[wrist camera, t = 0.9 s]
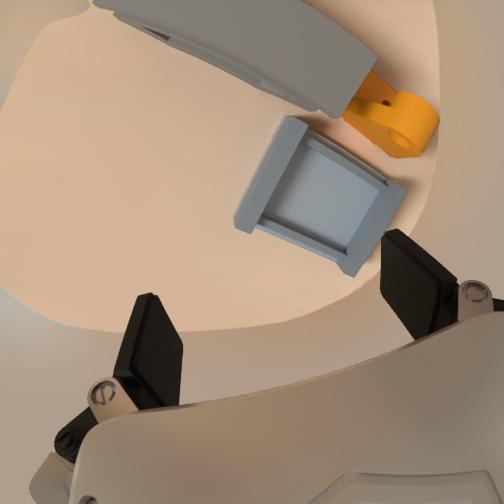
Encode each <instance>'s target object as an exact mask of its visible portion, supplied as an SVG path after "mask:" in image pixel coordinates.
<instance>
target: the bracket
mask: <svg viewBox="0 0 504 504" xmlns="http://www.w3.org/2000/svg"><path fill="white" fill-rule="evenodd" d="M341 116H342V117H343V118H344V120H345V121H346V122H347V123H349V124H350V125H351V126H352V127H354V128H355V129H356V130H358V131H359V132H360V133H361V134H362V135H364V136H365V137H366V138H367V139H369V140H370V141H371V142H372V143H373V144H375V145H378V146H379V147H380V148H381V149H382V150H383V151H385V152H386V153H387V154H388V155H389V156H391V157H394V158H397V159H399V158H408V157H419V156H421V155H422V153H423V151H424V149H425V148H426V146H427V144H428V142H429V141H430V139H431V137H432V135H433V133H434V132H435V130H436V128H437V126H438V124H439V122H440V117H439V115H438V113H437V112H436V111H435V109H434V108H433V107H432V106H431V105H430V104H429V103H427V102H426V101H425V100H423V99H422V98H420V97H418V96H417V95H415V94H412V93H409V92H406V91H400V92H398V93H396V92H395V91H394V90H393V89H392V88H391V87H390V86H389V85H388V84H386V83H385V82H384V81H383V80H382V79H381V78H380V77H379V76H377V75H376V74H375V73H374V72H373V71H372V70H370V71H369V73H368V74H367V76H366V77H365V79H364V80H363V82H362V84H361V85H360V87H359V88H358V90H357V91H356V93H355V94H354V96H353V98H352V99H351V101H350V102H349V104H348V105H347V107H346V108H345V110H344V111H343V113H342V115H341Z"/></svg>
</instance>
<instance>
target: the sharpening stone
mask: <svg viewBox="0 0 504 504" xmlns="http://www.w3.org/2000/svg"><path fill="white" fill-rule="evenodd" d="M92 3H93V4H94V5H96V6H97V7H98V8H103V9H107V10H111V11H115V12H114V14H113V15H114V16H115V17H116V18H117V19H118V20H120V21H122V22H124V23H126V24H128V25H130V26H132V27H135V28H137V29H139V30H141V31H143V32H145V33H147V34H149V35H150V36H152V37H154V38H156V39H158V40H160V41H162V42H164V43H165V44H167V45H169V46H171V47H173V48H176V49H178V50H180V51H183V52H185V53H187V54H190V55H192V56H194V57H196V58H199V59H201V60H203V61H205V62H207V63H209V64H211V65H213V66H216V67H218V68H220V69H222V70H224V71H226V72H227V73H229V74H231V75H233V76H235V77H237V78H239V79H241V80H243V81H245V82H246V83H248V84H250V85H252V86H254V87H255V88H258V89H260V90H263V91H265V92H267V93H270V94H272V95H275V96H277V97H279V98H281V99H284V100H286V101H288V102H290V103H292V104H295V105H297V106H299V107H301V108H303V109H305V110H307V111H309V112H311V111H317V109H318V108H319V109H320V110H321V111H323V112H324V113H326V114H327V115H328V116H330V117H331V118H336V119H339V118H340V116H341V115H342V113H343V111H344V110H345V108H346V107H347V105H348V104H349V102H350V101H351V99H352V98H353V96H354V94H355V93H356V91H357V90H358V88H359V87H360V85H361V84H362V82H363V80H364V79H365V77H366V76H367V74H368V73H369V71H370V70H371V68H372V67H373V65H374V63H375V62H376V60H377V59H378V57H379V56H378V55H376V54H375V53H374V52H373V51H372V50H370V49H369V48H368V47H367V46H366V45H364V44H363V43H362V42H361V41H359V40H358V39H357V38H356V37H354V36H353V35H352V34H350V33H349V32H348V31H346V30H345V29H344V28H342V27H341V26H339V25H338V24H337V23H335V22H334V21H332V20H331V19H329V18H328V17H326V16H325V15H323V14H322V13H320V12H319V11H317V10H316V9H314V8H312V7H311V6H309V5H308V4H306V3H304V2H302V1H301V0H94V1H93V2H92Z"/></svg>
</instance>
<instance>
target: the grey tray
mask: <svg viewBox="0 0 504 504" xmlns="http://www.w3.org/2000/svg"><path fill="white" fill-rule="evenodd" d="M308 126H309V125H308V124H306V123H304V122H302V121H301V120H299V119H297V118H295V117H293V116H284V117H283V119H282V121H281V123H280V125H279V127H278V128H277V130H276V132H275V134H274V136H273V138H272V140H271V142H270V144H269V146H268V148H267V149H266V151H265V153H264V155H263V157H262V159H261V161H260V163H259V165H258V167H257V169H256V171H255V173H254V175H253V177H252V179H251V181H250V183H249V185H248V187H247V189H246V191H245V193H244V195H243V197H242V199H241V201H240V203H239V205H238V207H237V209H236V211H235V213H234V215H233V217H234V224H235V228H237V229H239V230H242V231H244V232H246V233H249V234H251V233H252V231H253V229H254V227H255V228H257V229H260V230H262V231H264V232H267V233H269V234H271V235H274V236H276V237H278V238H281V239H283V240H285V241H288V242H290V243H292V244H295V245H297V246H299V247H302V248H304V249H306V250H309V251H311V252H313V253H316V254H318V255H320V256H322V257H325V258H327V259H329V260H331V261H334V262H336V263H337V265H338V266H339V267H340V269H341V270H342V272H343V273H344V274H347V275H349V276H351V277H355V276H356V274H357V273H358V271H359V270H360V268H361V267H362V265H363V264H364V262H365V261H366V259H367V258H368V256H369V255H370V253H371V252H372V250H373V249H374V247H375V245H376V244H377V242H378V241H379V239H380V237H381V236H382V234H383V233H384V231H385V229H386V228H387V226H388V224H389V223H390V221H391V219H392V218H393V216H394V214H395V212H396V211H397V209H398V207H399V206H400V204H401V202H402V200H403V199H404V197H405V195H406V193H407V191H406V190H405V189H404V188H403V187H401V186H400V185H399V184H397V183H395V182H393V181H391V180H389V179H387V178H385V177H384V176H382V175H381V174H379V173H378V172H377V171H375V170H374V169H372V168H371V167H369V166H368V165H367V164H365V163H364V162H362V161H361V160H359V159H358V158H356V157H355V156H353V155H352V154H350V153H348V152H347V151H345V150H344V149H342V148H341V147H339V146H337V145H336V144H334V143H332V142H331V141H329V140H328V139H326V138H324V137H323V136H321V135H319V134H317V133H316V132H314V131H312V130H310V129H309V128H308Z"/></svg>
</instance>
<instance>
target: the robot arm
mask: <svg viewBox="0 0 504 504" xmlns="http://www.w3.org/2000/svg"><path fill="white" fill-rule="evenodd" d="M380 291H381V294H382V296H383V298H384V299H385V300H386V301H387V303H388V304H389V305H390V307H391V308H392V309H393V311H394V312H395V313H396V315H397V316H398V318H399V319H400V320H401V322H402V323H403V324H404V326H405V327H406V329H407V330H408V331H409V333H410V334H411V336H412V337H413V338H414V340H415V341H413V342H411V343H409V344H407V345H404V346H402V347H399V348H397V349H394V350H392V351H390V352H387V353H384V354H382V355H379V356H377V357H374V358H371V359H368V360H366V361H363V362H360V363H357V364H354V365H351V366H348V367H346V368H342V369H339V370H336V371H333V372H330V373H327V374H323V375H320V376H317V377H313V378H310V379H307V380H303V381H299V382H296V383H292V384H288V385H284V386H280V387H276V388H272V389H267V390H263V391H258V392H254V393H249V394H244V395H239V396H234V397H229V398H223V399H217V400H211V401H204V402H199V403H192V404H184V405H179V397H180V383H181V370H182V357H183V343H182V341H181V339H180V337H179V335H178V333H177V331H176V330H175V328H174V326H173V324H172V322H171V320H170V318H169V316H168V315H167V313H166V311H165V309H164V307H163V305H162V303H161V301H160V299H159V297H158V296H157V295H153V294H152V293H147V294H142V295H139V296H138V297H137V299H136V302H135V305H134V308H133V311H132V314H131V317H130V320H129V323H128V326H127V329H126V332H125V335H124V338H123V341H122V345H121V347H120V351H119V354H118V357H117V361H116V364H115V368H114V373H113V377H106V378H102V379H100V380H98V381H97V382H95V383H94V384H93V385H92V387H91V388H90V390H89V392H88V396H87V400H88V404H89V407H88V408H86V409H85V410H84V411H83V412H82V413H80V414H79V415H78V416H77V417H76V418H75V419H73V420H72V421H71V422H70V423H68V424H67V425H66V426H65V427H64V428H62V429H61V430H60V431H59V432H58V434H57V436H56V438H55V441H54V447H55V450H56V452H55V453H53V452H50V454H49V455H48V457H47V458H46V460H45V461H44V463H43V464H42V465H41V467H40V468H39V470H38V471H37V472H36V474H35V475H34V477H33V478H32V480H31V482H30V486H29V490H30V494H31V496H32V498H33V499H34V500H35V502H36V503H37V504H504V300H500V299H495V298H492V293H491V290H490V289H489V288H488V287H487V286H486V285H485V284H484V283H482V282H480V281H476V280H468V281H464V282H463V283H461V285H459V284H458V283H457V278H456V277H455V276H454V275H453V274H451V273H450V272H449V271H448V270H447V269H446V268H445V267H444V266H443V265H441V264H440V263H439V262H438V261H437V260H436V259H435V258H433V257H432V256H431V255H430V254H429V253H427V252H426V251H425V250H424V249H423V248H422V247H420V246H419V245H418V244H417V243H415V242H414V241H413V240H412V239H411V238H409V237H408V236H407V235H406V234H404V233H403V232H402V231H400V230H399V229H393V230H390V231H386V232H385V233H384V236H382V238H381V277H380Z"/></svg>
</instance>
